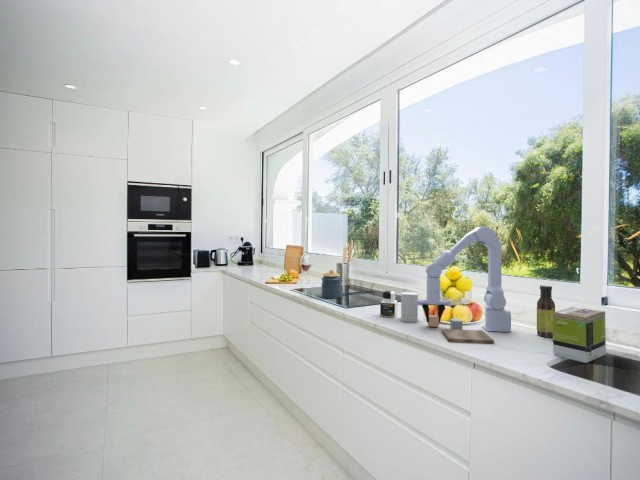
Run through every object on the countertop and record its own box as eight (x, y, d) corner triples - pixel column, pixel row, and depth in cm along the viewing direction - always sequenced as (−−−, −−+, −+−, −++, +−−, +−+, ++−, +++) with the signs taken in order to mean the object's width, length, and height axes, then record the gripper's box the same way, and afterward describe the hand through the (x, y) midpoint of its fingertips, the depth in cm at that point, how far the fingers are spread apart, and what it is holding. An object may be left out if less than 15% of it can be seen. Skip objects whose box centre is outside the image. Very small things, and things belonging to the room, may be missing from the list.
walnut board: (482, 333, 146) (482, 330, 146) (494, 343, 132) (494, 340, 132) (441, 331, 148) (441, 328, 148) (448, 341, 134) (448, 338, 134)
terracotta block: (437, 324, 158) (437, 315, 158) (438, 326, 154) (438, 317, 154) (427, 324, 158) (427, 315, 158) (429, 326, 154) (429, 317, 154)
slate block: (460, 328, 153) (460, 319, 153) (462, 330, 149) (462, 321, 149) (450, 328, 154) (450, 318, 154) (452, 330, 150) (452, 321, 150)
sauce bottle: (557, 338, 138) (558, 287, 138) (540, 337, 140) (540, 286, 139) (551, 334, 145) (551, 285, 144) (534, 333, 146) (534, 284, 146)
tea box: (572, 347, 128) (573, 306, 127) (606, 355, 119) (607, 311, 119) (551, 354, 120) (552, 310, 119) (586, 364, 111) (587, 316, 111)
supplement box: (417, 322, 164) (418, 294, 164) (401, 321, 165) (401, 294, 165) (416, 318, 171) (417, 292, 171) (400, 317, 172) (401, 291, 172)
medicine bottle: (380, 316, 175) (380, 292, 175) (383, 313, 182) (383, 289, 182) (394, 317, 173) (394, 292, 172) (397, 314, 179) (397, 290, 179)
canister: (331, 294, 238) (331, 268, 238) (345, 297, 229) (345, 269, 229) (317, 297, 230) (317, 269, 229) (331, 299, 220) (331, 271, 220)
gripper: (448, 289, 159) (448, 320, 159) (415, 289, 161) (415, 319, 161) (452, 292, 152) (452, 324, 152) (417, 291, 154) (417, 323, 154)
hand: (433, 322), depth 156 cm, fingers closed on terracotta block, 4 cm apart
